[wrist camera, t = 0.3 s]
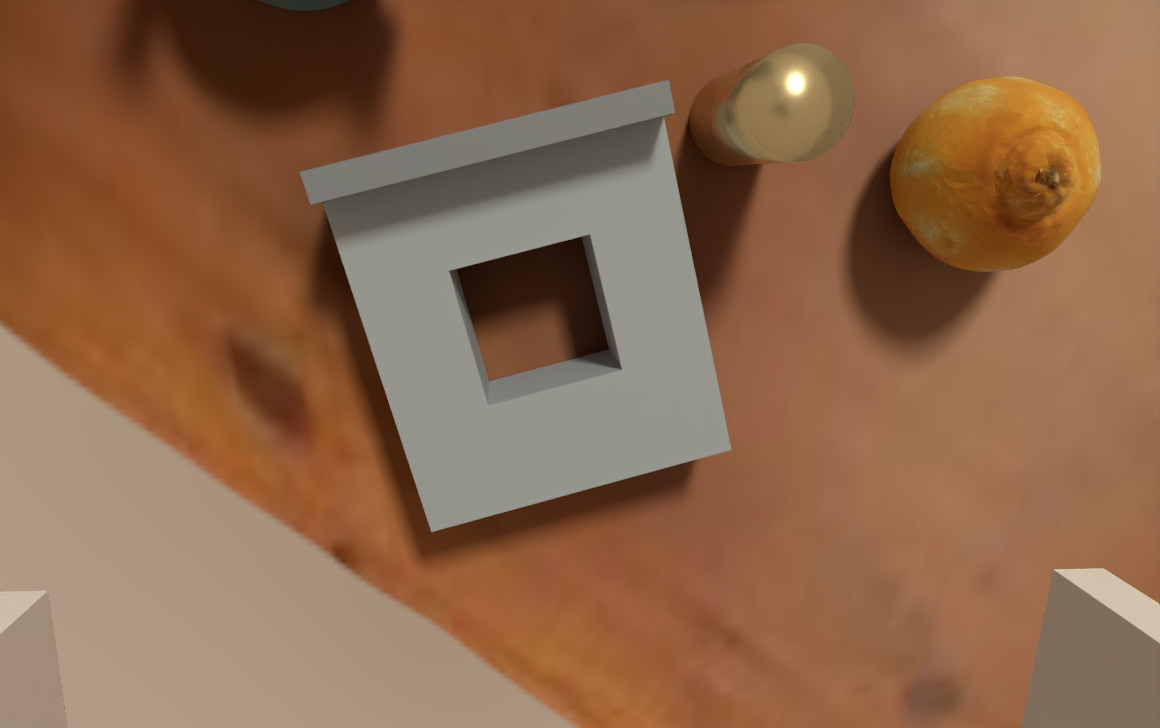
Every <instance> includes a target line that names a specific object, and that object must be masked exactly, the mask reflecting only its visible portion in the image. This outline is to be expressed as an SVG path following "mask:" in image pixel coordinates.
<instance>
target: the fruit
mask: <svg viewBox="0 0 1160 728" xmlns="http://www.w3.org/2000/svg"><path fill="white" fill-rule="evenodd" d="M1100 178H1101V161H1100V153H1099V145H1098V141H1097V137H1096V135H1095V132H1094V129H1093V126H1092V124H1091V121H1090V119H1089V117H1088V115H1087V113H1086V112H1085V110H1084V109H1083V107H1082V106H1081V105H1080V104H1079V103H1078V102H1077V101H1076V100H1075V99H1073V98H1072V97H1071V96H1069V95H1068V94H1066V93H1064V92H1062V91H1059V90H1057V89H1054V88H1052V87H1050V86H1047V85H1044V84H1041V83H1039V82H1036V81H1033V80H1030V79H1025V78H1019V77H997V78H989V79H983V80H977V81H972V82H969V83H966V84H963V85H961V86H958V87H956V88H954V89H953V90H951V91H949V92H947V93H946V94H944V95H943V96H942V97H940V98H939V99H937V100H936V101H935V102H934V103H932V104H931V105H930V106H928V107H927V108H926V109H925V110H924V111H923V112H922V113H921V114H919V116H918V117H917V118H916V119H915V120H914V121H913V122H912V124H911V125H910V126H909V127H908V129H907V130H906V132H905V133H904V135H903V137H902V138H901V140H900V142H899V144H898V146H897V148H896V151H895V153H894V156H893V159H892V163H891V168H890V186H891V193H892V198H893V202H894V206H895V208H896V210H897V212H898V215H899V216H900V218H901V219H902V220H903V222H904V223H905V225H906V226H907V228H908V229H909V230H910V232H911V233H912V234H913V236H914V237H915V238H916V239H917V241H918V242H919V243H920V244H921V245H922V246H923V247H924V248H925V249H926V250H927V251H928V252H930V253H931V254H932V255H933V256H935V257H936V258H938V259H939V260H941V261H943V262H945V263H947V264H949V265H951V266H954V267H957V268H961V269H965V270H970V271H978V272H989V271H1002V270H1012V269H1016V268H1020V267H1023V266H1025V265H1028V264H1030V263H1032V262H1035V261H1037V260H1039V259H1041V258H1043V257H1044V256H1046V255H1048V254H1049V253H1051V252H1052V251H1054V250H1055V249H1056V248H1057V247H1058V246H1059V245H1060V244H1061V243H1062V242H1063V241H1064V240H1065V239H1066V238H1067V237H1068V235H1069V234H1070V233H1071V232H1072V231H1073V229H1074V228H1075V227H1076V225H1077V224H1078V223H1079V222H1080V220H1081V219H1082V218H1083V216H1084V215H1085V213H1086V212H1087V210H1088V209H1089V207H1090V206H1091V204H1092V202H1093V200H1094V199H1095V196H1096V194H1097V191H1098V188H1099V184H1100Z"/></svg>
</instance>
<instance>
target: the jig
mask: <svg viewBox="0 0 1160 728" xmlns="http://www.w3.org/2000/svg"><path fill="white" fill-rule="evenodd" d="M673 113H675V109H674V104H673V99H672V94H671V89H670V84H669V80H666V81H662V82H658V83H654V84H650V85H646V86H642V87H638V88H634V89H630V90H626V91H622V92H618V93H614V94H610V95H606V96H602V97H598V98H594V99H590V100H586V101H582V102H578V103H574V104H570V105H566V106H562V107H558V108H554V109H550V110H546V111H542V112H538V113H534V114H530V115H526V116H522V117H518V118H514V119H510V120H506V121H502V122H498V123H494V124H490V125H486V126H482V127H478V128H474V129H470V130H466V131H462V132H458V133H454V134H450V135H446V136H442V137H438V138H434V139H430V140H426V141H422V142H418V143H414V144H410V145H406V146H402V147H398V148H394V149H390V150H386V151H382V152H378V153H373V154H369V155H365V156H361V157H357V158H353V159H349V160H345V161H341V162H337V163H333V164H329V165H325V166H321V167H317V168H313V169H309V170H305V171H301V172H300V174H301V177H302V180H303V183H304V186H305V189H306V192H307V195H308V198H309V201H310V204H311V205H312V204H319V203H323V205H324V208H325V211H326V214H327V217H328V220H329V223H330V226H331V229H332V232H333V235H334V238H335V241H336V244H337V247H338V250H339V253H340V256H341V260H342V263H343V266H344V269H345V272H346V275H347V278H348V281H349V284H350V287H351V290H352V293H353V296H354V299H355V302H356V305H357V308H358V311H359V314H360V317H361V320H362V323H363V326H364V329H365V332H366V335H367V338H368V341H369V344H370V347H371V350H372V354H373V357H374V360H375V363H376V366H377V369H378V372H379V375H380V378H381V381H382V384H383V387H384V390H385V393H386V396H387V399H388V402H389V405H390V408H391V411H392V414H393V417H394V420H395V423H396V426H397V429H398V432H399V435H400V438H401V441H402V444H403V448H404V451H405V454H406V457H407V460H408V463H409V466H410V469H411V472H412V475H413V478H414V481H415V484H416V487H417V490H418V493H419V496H420V499H421V502H422V505H423V508H424V511H425V514H426V517H427V520H428V523H429V526H430V529H431V532H434V531H438V530H441V529H445V528H448V527H452V526H456V525H459V524H463V523H467V522H470V521H474V520H478V519H481V518H485V517H489V516H492V515H496V514H499V513H503V512H507V511H510V510H514V509H518V508H521V507H525V506H529V505H532V504H536V503H540V502H543V501H547V500H550V499H554V498H558V497H561V496H565V495H569V494H572V493H576V492H580V491H583V490H587V489H591V488H594V487H598V486H601V485H605V484H609V483H612V482H616V481H620V480H623V479H627V478H631V477H634V476H638V475H642V474H645V473H649V472H652V471H656V470H660V469H663V468H667V467H671V466H674V465H678V464H682V463H685V462H689V461H693V460H696V459H700V458H704V457H707V456H711V455H714V454H718V453H722V452H725V451H729V450H731V445H730V441H729V436H728V431H727V426H726V421H725V416H724V411H723V406H722V401H721V396H720V391H719V386H718V382H717V377H716V372H715V367H714V362H713V357H712V352H711V347H710V342H709V337H708V332H707V327H706V323H705V318H704V313H703V308H702V303H701V298H700V293H699V288H698V283H697V278H696V273H695V268H694V264H693V259H692V254H691V249H690V244H689V239H688V234H687V229H686V224H685V219H684V214H683V209H682V205H681V200H680V195H679V190H678V185H677V180H676V175H675V170H674V165H673V160H672V155H671V150H670V146H669V141H668V136H667V131H666V126H665V121H664V117H665V116H668V115H670V114H673ZM578 237H582V241H583V245H584V249H585V253H586V257H587V261H588V265H589V270H590V274H591V278H592V282H593V286H594V290H595V294H596V299H597V303H598V307H599V311H600V315H601V319H602V323H603V328H604V332H605V336H606V340H607V344H608V348H609V350H605V351H601V352H597V353H594V354H590V355H586V356H582V357H579V358H575V359H571V360H567V361H564V362H560V363H556V364H552V365H548V366H545V367H541V368H537V369H533V370H530V371H526V372H522V373H518V374H515V375H511V376H507V377H503V378H500V379H496V380H492V381H489V379H488V376H487V372H486V369H485V365H484V362H483V358H482V355H481V351H480V348H479V345H478V341H477V338H476V334H475V331H474V327H473V324H472V320H471V317H470V313H469V310H468V307H467V303H466V300H465V296H464V293H463V289H462V286H461V282H460V279H459V275H458V272H457V269H458V268H462V267H466V266H469V265H473V264H477V263H481V262H485V261H489V260H493V259H497V258H500V257H504V256H508V255H512V254H516V253H520V252H524V251H527V250H531V249H535V248H539V247H543V246H547V245H551V244H555V243H558V242H562V241H566V240H570V239H574V238H578Z"/></svg>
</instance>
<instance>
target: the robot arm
mask: <svg viewBox="0 0 1160 728" xmlns="http://www.w3.org/2000/svg"><path fill="white" fill-rule="evenodd" d="M0 728H67V721H66V714H65V706H64V699H63V693H62V686H61V678H60V671H59V664H58V657H57V651H56V643H55V636H54V629H53V622H52V615H51V609H50V601H49V594H48V591H13V592H0ZM1021 728H1160V604H1159V603H1157V602H1155V601H1154V600H1152V599H1151V598H1149V597H1148V596H1146V595H1144V594H1143V593H1141V592H1140V591H1138V590H1137V589H1135V588H1133V587H1132V586H1130V585H1129V584H1127V583H1126V582H1124V581H1122V580H1121V579H1119V578H1118V577H1116V576H1115V575H1113V574H1111V573H1110V572H1108V571H1107V570H1105V569H1103V568H1101V569H1054V570H1053V575H1052V580H1051V585H1050V589H1049V594H1048V599H1047V604H1046V609H1045V614H1044V619H1043V623H1042V628H1041V633H1040V638H1039V643H1038V648H1037V653H1036V657H1035V662H1034V667H1033V672H1032V677H1031V682H1030V687H1029V691H1028V696H1027V701H1026V706H1025V711H1024V716H1023V721H1022V726H1021Z"/></svg>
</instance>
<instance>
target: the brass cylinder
mask: <svg viewBox="0 0 1160 728" xmlns="http://www.w3.org/2000/svg"><path fill="white" fill-rule="evenodd" d="M853 108H854V89H853V84H852V81H851V78H850V75H849V73H848V71H847V69H846V67H845V66H844V64H843V63H842V62H841V61H840V59H839V58H838V57H837V56H835V55H834V54H833V53H832V52H830V51H829V50H827V49H825V48H823V47H821V46H817V45H814V44H807V43H802V44H793V45H789V46H786V47H784V48H781V49H779V50H777V51H775V52H773V53H771V54H768V55H766V56H764V57H762V58H760V59H757V60H755V61H753V62H751V63H749V64H747V65H744V66H742V67H740V68H738V69H736V70H734V71H731V72H729V73H727V74H725V75H723V76H721V77H718V78H716V79H714V80H712V81H711V82H709V83H708V84H707V85H706V86H704V87H703V88H702V90H701V91H700V92H699V93H698V95H697V96H696V98H695V100H694V102H693V104H692V107H691V111H690V117H689V127H690V133H691V137H692V140H693V142H694V144H695V146H696V148H697V149H698V150H699V152H700V153H701V154H702V155H703V156H704V157H706V158H707V159H708V160H710V161H712V162H714V163H717V164H720V165H725V166H735V165H752V164H769V163H785V162H802V161H808V160H811V159H814V158H817V157H819V156H821V155H823V154H825V153H826V152H828V151H829V150H830V149H831V148H833V147H834V146H835V145H836V144H837V143H838V142H839V140H840V139H841V138H842V136H843V135H844V133H845V131H846V130H847V128H848V126H849V123H850V121H851V117H852V114H853Z"/></svg>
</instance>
